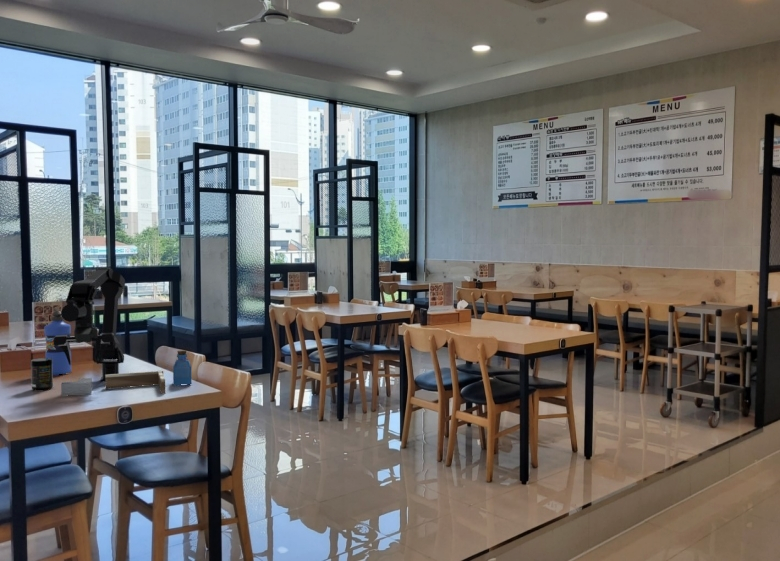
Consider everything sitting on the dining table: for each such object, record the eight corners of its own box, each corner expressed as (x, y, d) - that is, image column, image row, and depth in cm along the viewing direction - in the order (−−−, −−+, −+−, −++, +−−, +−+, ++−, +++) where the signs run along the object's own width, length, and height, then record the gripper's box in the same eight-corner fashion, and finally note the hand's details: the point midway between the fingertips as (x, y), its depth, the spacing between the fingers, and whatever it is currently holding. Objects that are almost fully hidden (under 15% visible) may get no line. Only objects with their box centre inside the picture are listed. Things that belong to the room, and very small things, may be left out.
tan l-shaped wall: (105, 388, 228) (105, 374, 227) (163, 383, 235) (163, 370, 235) (105, 398, 211) (104, 383, 211) (167, 393, 219) (167, 379, 218)
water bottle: (54, 376, 251) (53, 312, 250) (40, 374, 256) (38, 311, 255) (76, 372, 259) (75, 310, 258) (62, 370, 264) (61, 309, 263)
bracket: (63, 391, 223) (63, 379, 223) (92, 389, 226) (91, 377, 226) (61, 396, 214) (61, 384, 214) (91, 394, 218) (91, 382, 218)
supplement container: (57, 387, 229) (56, 358, 228) (40, 391, 222) (39, 361, 222) (44, 386, 231) (43, 357, 231) (27, 390, 225) (26, 360, 225)
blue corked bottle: (191, 384, 233) (191, 351, 232) (173, 386, 231) (172, 352, 231) (191, 381, 239) (190, 349, 238) (173, 382, 237) (173, 350, 236)
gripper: (51, 322, 211) (52, 369, 212) (113, 319, 219) (114, 365, 219) (54, 319, 221) (55, 364, 222) (113, 316, 229) (114, 360, 229)
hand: (85, 363), depth 223 cm, fingers open, 9 cm apart
